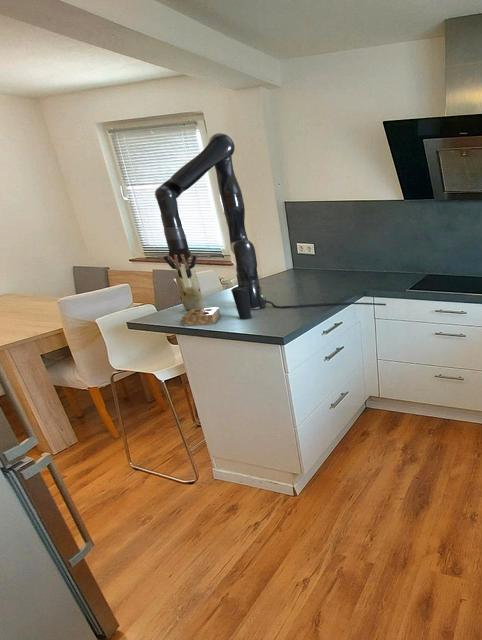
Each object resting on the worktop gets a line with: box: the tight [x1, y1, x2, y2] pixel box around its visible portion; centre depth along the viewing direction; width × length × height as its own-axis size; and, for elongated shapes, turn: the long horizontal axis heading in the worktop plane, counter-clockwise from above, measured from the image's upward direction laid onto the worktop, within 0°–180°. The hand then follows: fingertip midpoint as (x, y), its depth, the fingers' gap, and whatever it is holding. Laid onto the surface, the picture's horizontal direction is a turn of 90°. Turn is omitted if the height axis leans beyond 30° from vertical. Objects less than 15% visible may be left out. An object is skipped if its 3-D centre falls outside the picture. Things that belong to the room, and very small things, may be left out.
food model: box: [174, 268, 205, 311], centre depth 183 cm, size 10×7×20 cm
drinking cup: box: [230, 273, 252, 320], centre depth 171 cm, size 8×8×20 cm
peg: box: [180, 265, 191, 288], centre depth 170 cm, size 2×2×9 cm
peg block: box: [181, 307, 221, 327], centre depth 171 cm, size 12×12×4 cm
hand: (186, 278), depth 170 cm, fingers closed on peg, 2 cm apart
